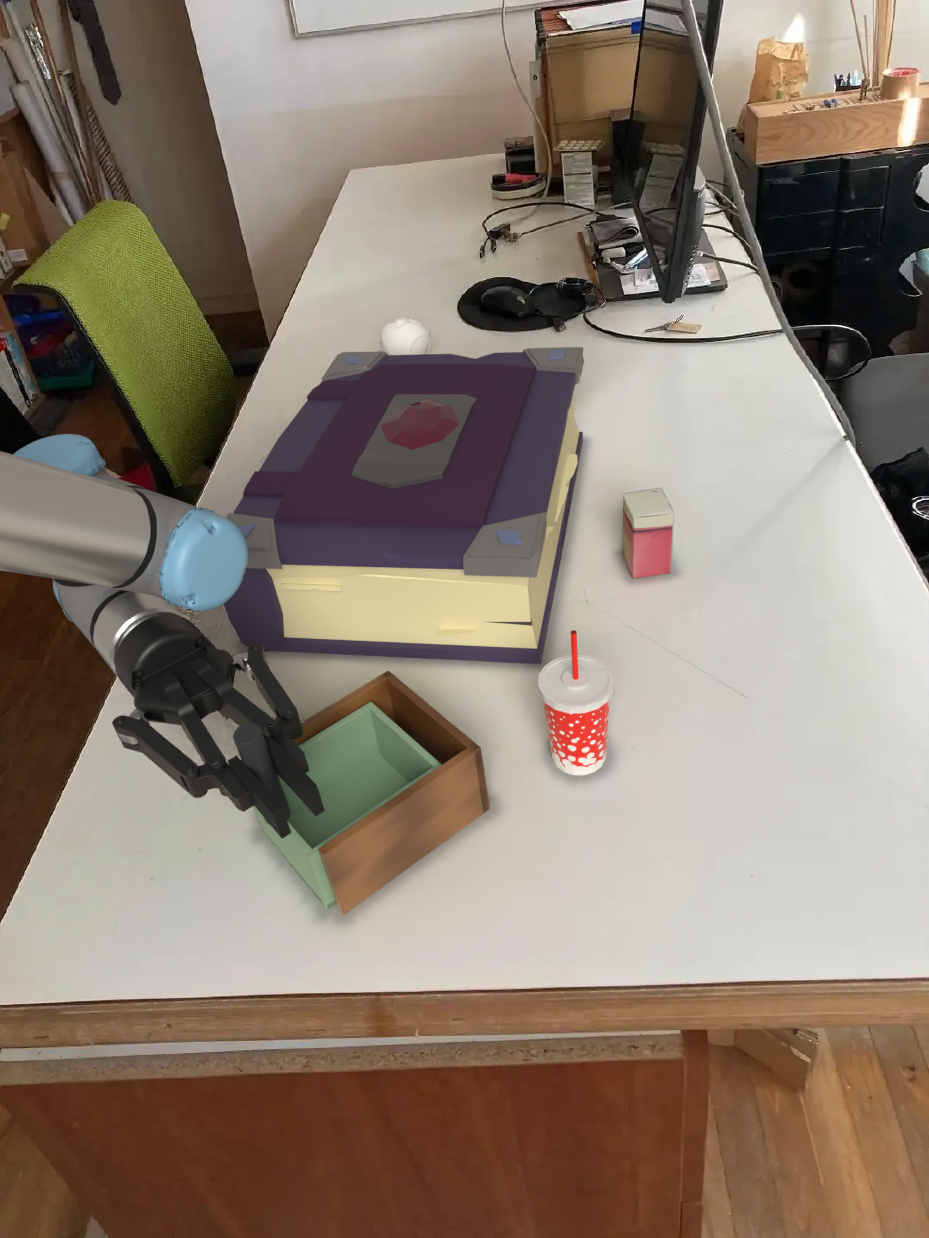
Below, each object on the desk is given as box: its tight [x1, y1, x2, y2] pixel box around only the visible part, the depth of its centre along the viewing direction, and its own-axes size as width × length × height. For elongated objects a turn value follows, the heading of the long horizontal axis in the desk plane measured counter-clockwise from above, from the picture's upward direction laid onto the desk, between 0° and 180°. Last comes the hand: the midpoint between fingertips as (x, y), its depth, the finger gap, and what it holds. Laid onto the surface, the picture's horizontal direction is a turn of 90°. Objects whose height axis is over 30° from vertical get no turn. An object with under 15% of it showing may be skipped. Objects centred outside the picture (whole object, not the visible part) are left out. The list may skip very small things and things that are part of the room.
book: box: [223, 346, 585, 665], centre depth 105 cm, size 33×45×14 cm
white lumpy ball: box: [378, 315, 432, 355], centre depth 144 cm, size 8×8×8 cm
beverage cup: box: [537, 629, 615, 776], centre depth 76 cm, size 6×6×14 cm
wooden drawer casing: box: [240, 670, 490, 916], centre depth 75 cm, size 15×13×8 cm
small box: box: [621, 487, 675, 579], centre depth 97 cm, size 5×4×8 cm
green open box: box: [232, 702, 442, 911], centre depth 72 cm, size 13×10×16 cm
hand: (299, 811), depth 63 cm, fingers closed on green open box, 2 cm apart
